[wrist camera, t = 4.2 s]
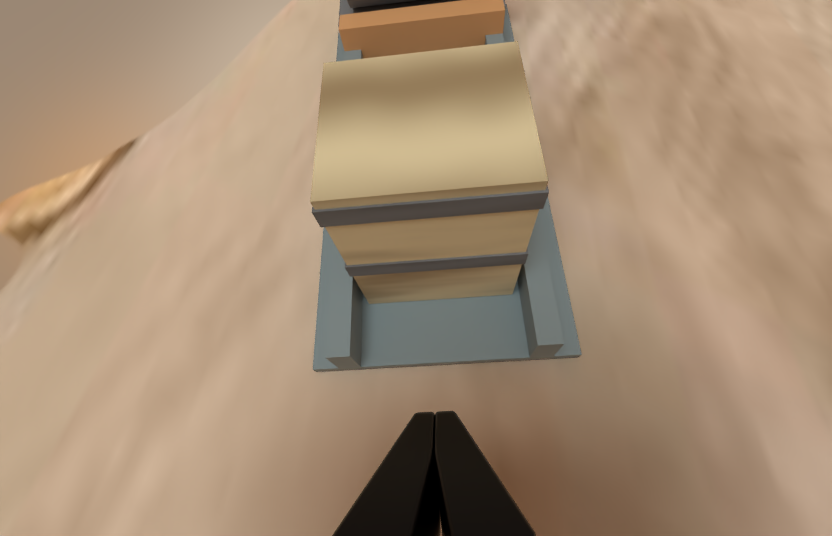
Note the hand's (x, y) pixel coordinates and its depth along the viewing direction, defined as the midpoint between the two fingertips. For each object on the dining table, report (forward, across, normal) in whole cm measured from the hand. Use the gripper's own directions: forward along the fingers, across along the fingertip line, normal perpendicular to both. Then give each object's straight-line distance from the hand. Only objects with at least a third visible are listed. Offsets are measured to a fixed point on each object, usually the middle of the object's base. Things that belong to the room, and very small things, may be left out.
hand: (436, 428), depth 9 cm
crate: (+16, 0, 0) cm, 16 cm away
